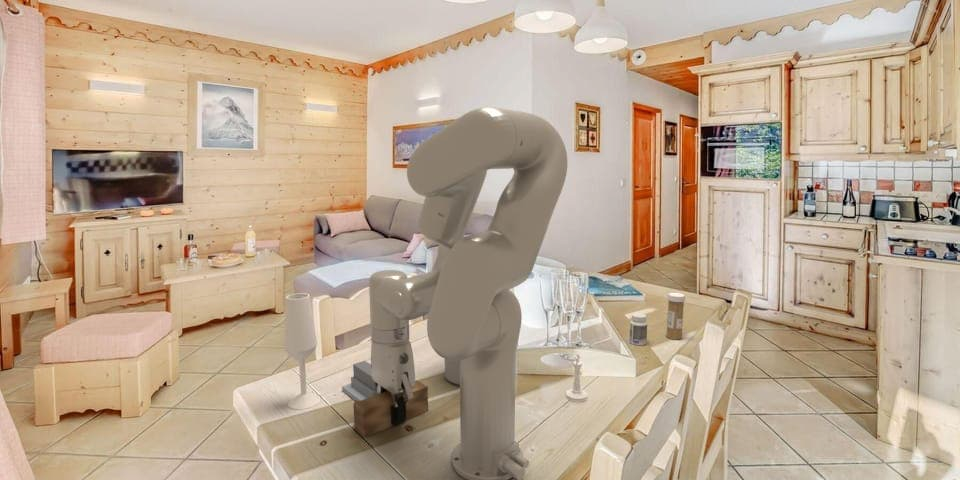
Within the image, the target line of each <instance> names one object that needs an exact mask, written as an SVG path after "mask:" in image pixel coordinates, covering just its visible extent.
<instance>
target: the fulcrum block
mask: <svg viewBox="0 0 960 480" xmlns="http://www.w3.org/2000/svg"><path fill="white" fill-rule="evenodd" d="M352 370H353V376H351V377H350V383H348V384H346V385H342V386H341V388H342V389H341V391H342V392H343V393H345V394H346V395H348V397H350V398H352V399H353V400H354V401H355V402H358V401H361V400H363V399H366V398H369V397H372V396H375V395H377V386H376V382H375V381H374V380H373V378H372V375H371V363H369V362H367V361H366V360H363V361H360V362H356V363H353V364H352Z"/></svg>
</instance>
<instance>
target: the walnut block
mask: <svg viewBox="0 0 960 480" xmlns="http://www.w3.org/2000/svg"><path fill="white" fill-rule="evenodd" d="M400 388H401V387H400ZM400 388H399V389H400ZM411 390H412V393H413V398H412V399H410V400H408V402H407V404H406V420H405V421H407V420H410V419H412V418H414V417H417V416H420V415H421V414H425V413H426V412H429V386H428V385H426V384H424V383H423V382H421V381H419V380H416V379H415V387H414V388H413V389H412V388H411ZM400 396H401V393H400V394H397V399H398V398H399V397H400ZM352 406H353V427H354V430H355V431H356V432H357V433H358V434H359V435H360V436H361V437H363V438H367V437H369V436H372V435H374V434H377V433H379V432H381V431H383V430H387V429H388V428H390V427H393V426H394V425H392V424H391V406H393V403H392V395H391V392H390V391H386V392H383V393H380V394H377V395H375V396H372V397H369V398H366V399H363V400H361V401H358V402H357V401H355V402H353V404H352Z"/></svg>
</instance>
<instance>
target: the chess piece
mask: <svg viewBox="0 0 960 480" xmlns="http://www.w3.org/2000/svg"><path fill="white" fill-rule="evenodd" d="M580 359H581V356H580V354H578V353H577V354H576V356H575V359H574V361H573V362H572V364H573V369H574V370H573V371H572V375H574V380H573V386H572V388H570V389H567V390H566V391H565V398H566V399H567V400H569V401H571V402H576V403H580V402H585V401H587V400H588V397H589V396H588V393H587V391H585V390H584V389H582V388H581V380H580V376H582V375H583V372H582V371H581V368H582V366H583V362H582V361H580Z"/></svg>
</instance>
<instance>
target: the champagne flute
mask: <svg viewBox="0 0 960 480" xmlns="http://www.w3.org/2000/svg"><path fill="white" fill-rule="evenodd" d="M284 310H285V312H284V315H285V316H284V342H283V343H284V345H283V346H284V347H283V348H284V350H285V352H286V354H287V355H289V356H290V357H291V358H293V360H296V361H298V363H299V365H298V367H299V380H300V381H299V383H300V394H298V395H296V396H295V397H294V398H291V399H290V400H289V401H288V407H289V408H291V409H295V410H304V409H308V408H312V407H314V406H316V405H318V404H320V401H321V397H320V396H319V395H316V394H314V393H310V392H308V391H307V374H306V372H307V371H306V360H307V359H308V358H309V357H310V356H311V355H313V353H314V352H315V350H316V348H317V346H318V339H317V333H316V328H315V322H314V315H313V309H312V303H311V297H310V294H309V293H305V292H304V293H303V292H302V293H300V292H299V293H292V294H289V295H287V296H285V309H284Z"/></svg>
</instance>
